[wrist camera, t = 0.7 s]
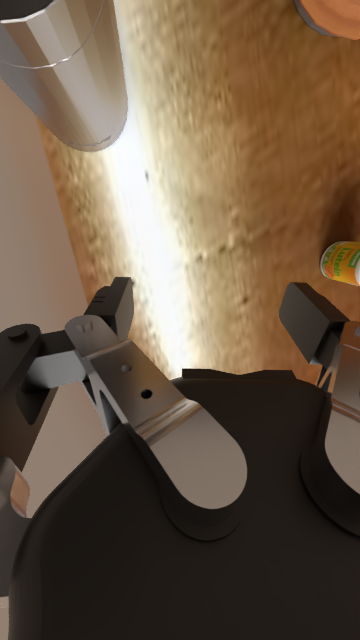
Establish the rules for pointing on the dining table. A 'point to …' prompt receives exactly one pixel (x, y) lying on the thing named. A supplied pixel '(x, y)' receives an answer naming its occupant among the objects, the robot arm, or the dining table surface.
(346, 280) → the supplement bottle
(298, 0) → the pie
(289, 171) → the dining table surface
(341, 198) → the dining table surface
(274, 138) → the dining table surface
